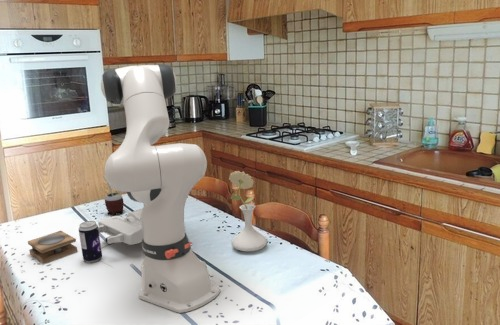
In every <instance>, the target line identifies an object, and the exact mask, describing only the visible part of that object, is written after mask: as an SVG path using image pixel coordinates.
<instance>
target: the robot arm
mask: <svg viewBox="0 0 500 325" xmlns="http://www.w3.org/2000/svg"><path fill="white" fill-rule="evenodd" d="M177 85H178V80H177V76H176V73H175V72H174V70H173V68H172V67H171V66H170V65H169V64H164V63H158V64H143V65H142V64H139V65H127V66H123V67H118V68H116V69H115V68H114V67H113V68H110V69H107V70H106V71H104V72H103V74H102V75H101V80H100V89H101V93H102V95H103V97H104V98H105V99H106V101H107V103H110V104H113V105H121V104H123V107H124V113H125V114H124V115H125V120H126V122H125V123H126V132H125V137H124V139H123V141H122V143H121V144H120V145H119V147H118V148H117V149H116V150H115V151H114V152H113V153H111V154H110V155H109V157H108V158H107V159H106V162H105V164H104V176H105V178H106V179H105V178H104V179H105V181H106V180H107V181H106V183H107V182H108V184H109V185H110V187H111V189H113V190H114V191H116V192H122V193H123V192H124V193H126V194H127V197H128V198H129V199H130V200H131V201H133V202H136V203H141V204H143V207H142V208H140V209H137V210H134V211H130V212H128V213H127V214H126V217H123V216H120V215H115V216H108V217H105V218H102V219H99V220H98V222H97V225H98V230H99V234H102V233H104V234H106V235H108V236H107V237H106V238H105V243H106V244H108V245H110V244H113V243H122V242H123V243H124V244H127V245H129V246H130V245H135V244H136V245H137V244H140V243H141V248H142V253H143V256H144V257H143V262H142V264H141V272H140V273H141V290H140V291H139V293H138V299H140V300H143V301H145V302H148V303H151V304H153V305H156V306H159V307H161V308H164V309H168V310H170V311H172V312H175V313H179V314H181V313H183V314H184V313H186V312H191V311H194V310H197V309H199V308H200V307H203V306H204V305H206V304H208V303H210V302H211V301H213V300H214V299H216V298H217V297H218V296H219V294H220V292H221V288H220V286H219V285H218V284H216V283H215V282H214V281H213V280H212V279H211V277H210V272H209V270H208V269H207V268H208V267H207V266H208V265H207V263H206V262H205V261H204V260H203V261H201V260H200V259H199V257H198V256H197V255H196V253H194V252H193V250H192V247H193V245H192V243H193V242H191V241H190V239H189V238H188V235H187V233H186V231H185V230H186V229H185V206H186V202H187V199H188V196H189V195H190V193H191V191H192V190H193V188H194V187H195V186H196V184H197V183H198V182H200V181H201V180H202V179H203V177H204V176H205V174H206V171H207V166H208V161H207V156H206V154H205V152H204V150H203V149H202V148H201V147H200V146H199V145H198V144H193V143H184V142H183V143H182V142H181V143H180V142H179V143H177V142H176V143H170V144H161V145H160V144H159V145H154V144H155V143H157V142H158V141H159V140H160V139H161V138H162V137H163V136H164V135H165V134H166V133H167V131H168V130H169V127H170V117H169V113H168V108H167V103H166V100H168V99H170V98H172V97H173V96H174V95H175V93H176V90H177V87H178V86H177ZM108 184H107V185H108Z"/></svg>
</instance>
